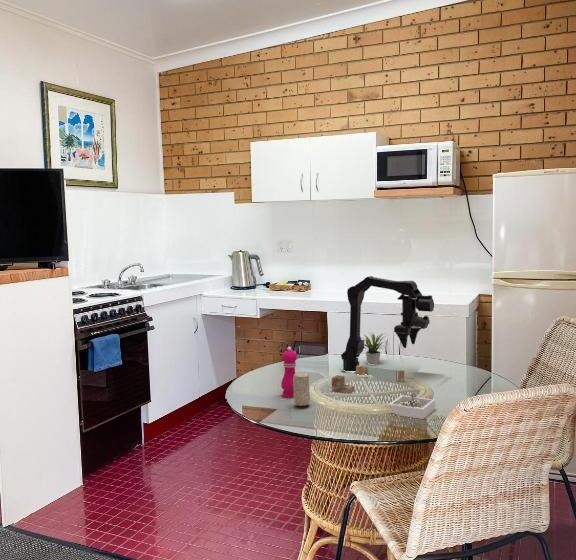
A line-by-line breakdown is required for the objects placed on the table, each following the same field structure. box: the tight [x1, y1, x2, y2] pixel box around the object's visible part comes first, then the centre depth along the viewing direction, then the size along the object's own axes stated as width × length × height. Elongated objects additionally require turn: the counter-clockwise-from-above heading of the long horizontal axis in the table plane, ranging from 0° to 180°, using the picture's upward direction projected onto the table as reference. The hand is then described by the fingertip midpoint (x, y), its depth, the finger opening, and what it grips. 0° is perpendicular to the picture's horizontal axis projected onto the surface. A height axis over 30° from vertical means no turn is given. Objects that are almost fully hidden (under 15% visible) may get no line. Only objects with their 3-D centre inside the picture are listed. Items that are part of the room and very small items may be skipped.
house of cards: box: [408, 391, 422, 408], centre depth 224 cm, size 9×9×8 cm
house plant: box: [362, 332, 387, 365], centre depth 296 cm, size 14×14×16 cm
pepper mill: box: [280, 346, 298, 399], centre depth 247 cm, size 7×7×20 cm
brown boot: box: [331, 374, 356, 394], centre depth 251 cm, size 8×4×6 cm, turn 58°
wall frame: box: [355, 365, 405, 383], centre depth 267 cm, size 22×2×6 cm, turn 58°
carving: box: [293, 372, 311, 407], centre depth 234 cm, size 6×8×12 cm
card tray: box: [387, 394, 436, 420], centre depth 224 cm, size 13×13×4 cm
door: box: [366, 365, 398, 382], centre depth 266 cm, size 14×1×6 cm, turn 58°
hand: (409, 345), depth 267 cm, fingers open, 9 cm apart
